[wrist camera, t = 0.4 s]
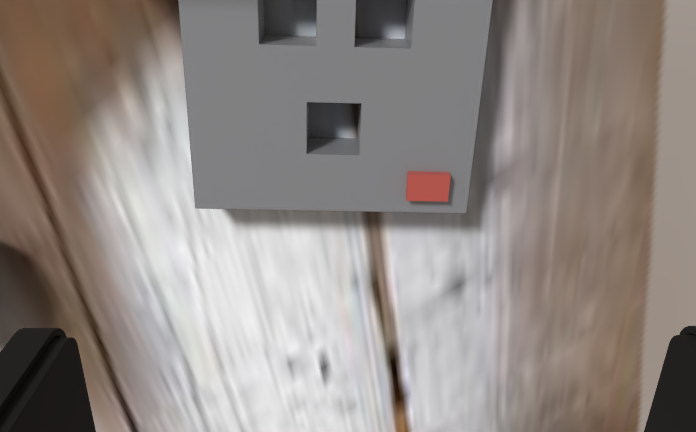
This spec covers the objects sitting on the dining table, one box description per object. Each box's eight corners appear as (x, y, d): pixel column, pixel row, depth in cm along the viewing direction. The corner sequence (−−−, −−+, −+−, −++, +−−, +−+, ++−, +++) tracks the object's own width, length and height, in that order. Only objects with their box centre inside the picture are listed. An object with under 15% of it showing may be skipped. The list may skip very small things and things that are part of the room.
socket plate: (184, -96, 32) (167, -99, 29) (488, -85, 33) (506, -86, 29) (204, 188, 39) (193, 212, 36) (456, 193, 39) (468, 217, 36)
